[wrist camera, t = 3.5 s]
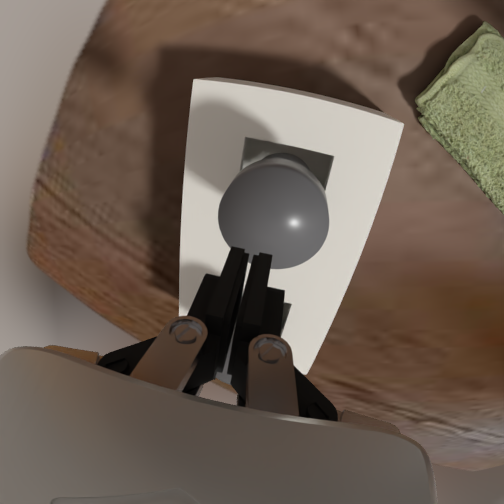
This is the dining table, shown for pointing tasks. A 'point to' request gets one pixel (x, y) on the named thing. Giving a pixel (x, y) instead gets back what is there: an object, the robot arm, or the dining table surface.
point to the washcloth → (471, 110)
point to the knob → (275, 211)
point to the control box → (320, 164)
